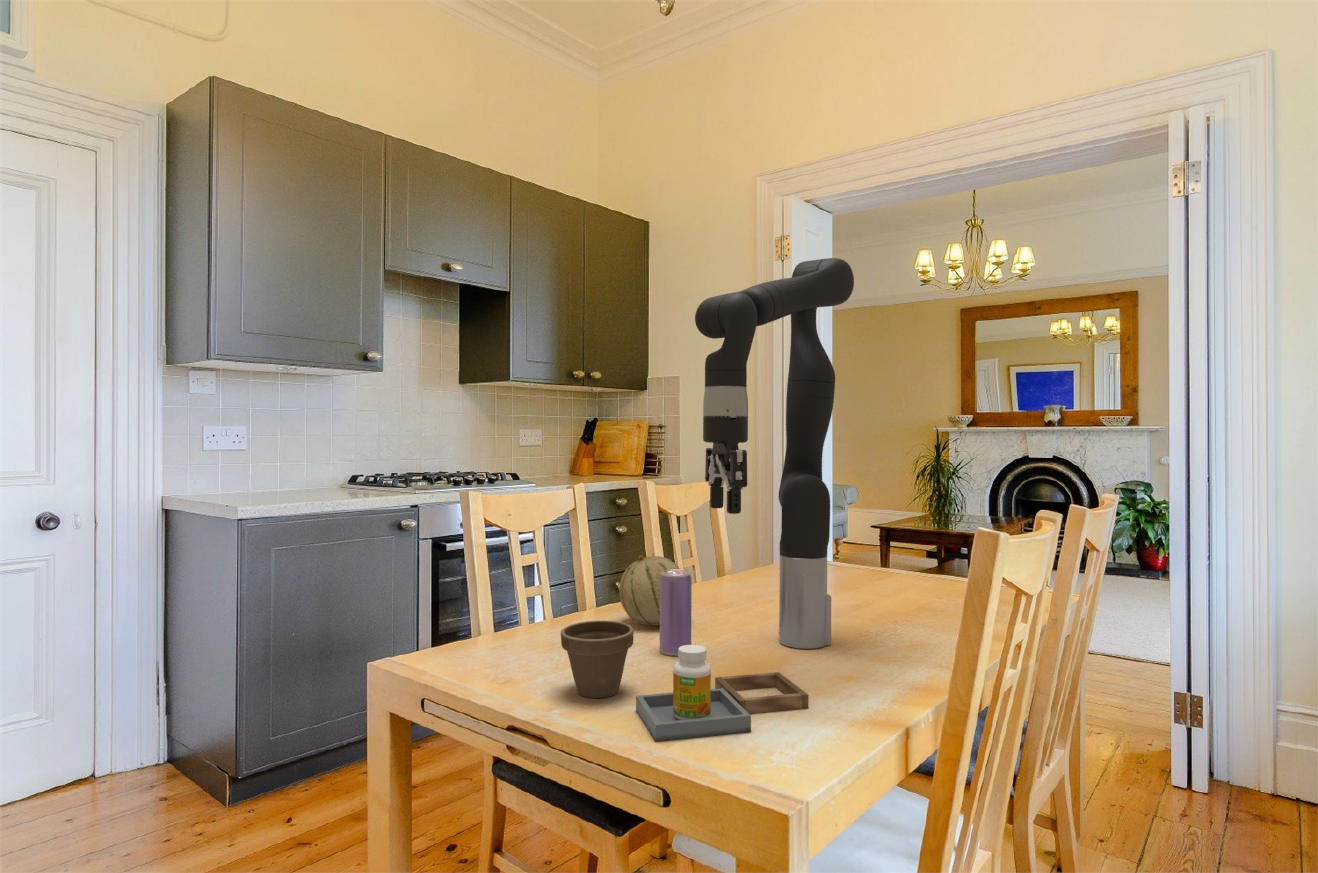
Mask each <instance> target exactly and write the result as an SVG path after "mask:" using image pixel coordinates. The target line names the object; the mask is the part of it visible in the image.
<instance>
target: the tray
mask: <svg viewBox="0 0 1318 873" xmlns="http://www.w3.org/2000/svg"><path fill="white" fill-rule="evenodd" d="M635 711H636V713H637V714H638V716H639V718H640V719H641V721H642V722H643V724H644V726H645V727H646V729H647V730H648V731H649V733H650V735H651V736H652V739H653V740H654V741H655V742H661V741H662V742H663V741H664V742H665V741H673V740H675V741H676V740H683V739H684V740H685V739H693V738H703V737H712V736H722V735H732V734H741V733H742V734H743V733H751V732H752V715H751V714H749V713H748V712H747V711H746V710H745V709H744V708H743V707H741V706H740V705H739V704H738V703H737V702H736V701H735V700H734V699H733V698H732V697H731V696H730V695H729V694H728V693H727V692H726V691H725V690H724V689H723V688H720V689H715V688H711V712H710V717H709V718H700V719H689V720H678V719H677V718H675V717H674V715H673V692H664V693H651V694H650V693H649V694H641V695H636V696H635Z"/></svg>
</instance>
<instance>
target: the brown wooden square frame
mask: <svg viewBox="0 0 1318 873" xmlns="http://www.w3.org/2000/svg"><path fill="white" fill-rule="evenodd" d="M720 688H723V689H724V690H725V691H726V692H727V693H728V694H729V695H730V696H731V697H732V698H733V699H734V700H735V701H736V702H737V703H738V704H739V705H740V706H741V707H743V708H744V709H745V710H746V711H747V712H748V713H749V714H750V715H751V714H759V713H760V714H761V713H770V712H781V711H782V712H783V711H792V710H793V711H794V710H801V709H802V710H803V709H809V703H810V702H809V697H810V696H809V694H808V693H807V692H806V691H804V690H803V689H801V688H800V687H799V686H798V685H796V684H795V683H794V682H792V681H791V680H790V679H789V678H788V677H786V676H784V675H783V674H782V673H781V672H778V671H777V672H766V673H753V674H740V675H731V676H730V675H728V676H718V677H717V676H716V677H714V689H720ZM766 688H767V689H768V688H776V689H778V690H779V691H780V692H781V693H782V694H777V695H765V696H764V695H763V696H752V697H743V696H742V695H741V694H740V693H739V692H738V691H743V690H755V689H766Z"/></svg>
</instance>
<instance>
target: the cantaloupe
mask: <svg viewBox="0 0 1318 873" xmlns="http://www.w3.org/2000/svg"><path fill="white" fill-rule="evenodd" d="M665 570H681V568H680V567H679V566H678V565H677V564H676V563H675V562H673V561H672V560H671V559H669V558H667V557H663V556H659V555H653V556H652V555H651V556H647V557H645V556H643V555H642V554H640V555H638V560H636V561H633V563H630V565H629V566H627V567H626V569H625V570H624V572H623V574H622V576H621V578H620V582H619V587H618V588H619V590H618V591H619V592H618V593H619V600H620V603H621V606H622V608H623V610H624V612H625V613H626V614H627V616H628V617H629V618H630V619H631V620H633V621H634V622H637V623H638V624H642V625H646V626H660V576H661V572H662V571H665Z"/></svg>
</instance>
